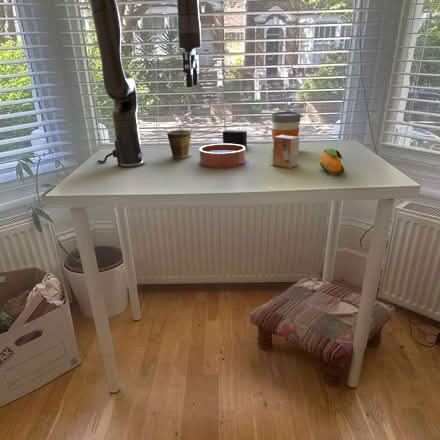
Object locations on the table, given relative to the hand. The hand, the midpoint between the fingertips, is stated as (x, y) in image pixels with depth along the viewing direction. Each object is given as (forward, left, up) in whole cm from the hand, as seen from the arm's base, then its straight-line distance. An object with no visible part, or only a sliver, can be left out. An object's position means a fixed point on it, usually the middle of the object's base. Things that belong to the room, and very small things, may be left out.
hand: (192, 86), depth 142 cm
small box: (+34, +3, -28) cm, 44 cm away
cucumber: (+9, +7, -28) cm, 30 cm away
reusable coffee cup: (+33, +30, -28) cm, 53 cm away
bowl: (+9, +7, -28) cm, 30 cm away
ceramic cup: (-12, +18, -28) cm, 36 cm away
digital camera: (+10, +38, -28) cm, 49 cm away
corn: (+51, -7, -28) cm, 59 cm away
